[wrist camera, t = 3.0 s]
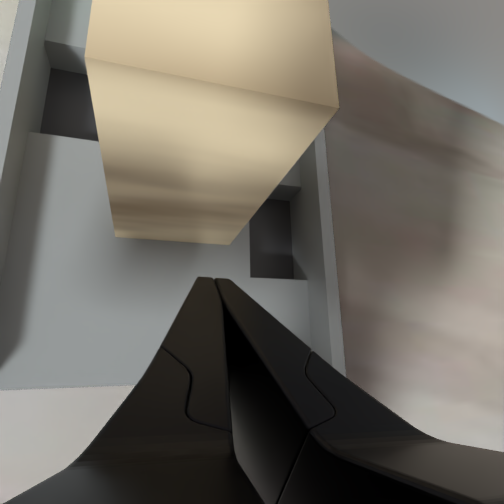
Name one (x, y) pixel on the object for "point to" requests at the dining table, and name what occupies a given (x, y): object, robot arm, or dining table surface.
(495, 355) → the dining table surface
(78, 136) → the lane
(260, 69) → the block
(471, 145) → the dining table surface
